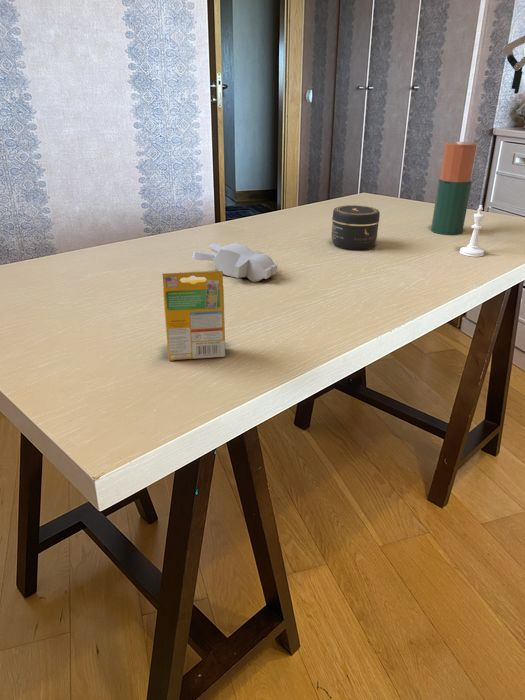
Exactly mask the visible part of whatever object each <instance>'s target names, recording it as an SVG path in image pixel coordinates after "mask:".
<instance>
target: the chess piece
mask: <svg viewBox="0 0 525 700" xmlns="http://www.w3.org/2000/svg"><path fill="white" fill-rule="evenodd" d="M483 210H484V207H483V205H482V204H479V206H478V208H477V210H476V211H477V213H474V214H473V221H474V224H472V225H471V228H472V229H473V231H472V234H471V237H470V240H469V243H468V244H466V246H462V247H460V249H459V251H458V253H459V254H460V255H462V256H466V257H475V258H477V257H484V255H485V250H484V249H483V248H481V247H479V246H480V245H479V244H478V243H479V231H480V229H483V226H482V225H481V223H482V221H483V219H484V218H485V215H484V214H483V213H482V211H483Z"/></svg>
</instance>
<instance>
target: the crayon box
mask: <svg viewBox="0 0 525 700" xmlns="http://www.w3.org/2000/svg"><path fill="white" fill-rule="evenodd" d="M161 275H162V283H163V284H162V293H163V307H164V322H165V332H166V334H165V335H166V345H167V359H168V361H169V362H173V361H179V360H192V359H193V360H196V359H209V358H210V359H212V358H226V335H225V334H226V333H225V332H226V329H225V327H226V326H225V325H226V323H225V292H224V289H225V288H224V274H223V271H218V270H212V271H211V270H209V271H187V272H186V271H185V272H164V273H162V274H161ZM190 277H195V278H205V279H190V280H189V279H188V280H187V278H190ZM184 278H185V279H186V280H181V279H184Z"/></svg>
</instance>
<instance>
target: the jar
mask: <svg viewBox="0 0 525 700" xmlns="http://www.w3.org/2000/svg"><path fill="white" fill-rule="evenodd" d="M380 214H381V212H380V210H379V209H377V208H375V207H372V206H366V205H355V204H354V205H353V204H352V205H340V206H337V207H334V208H333V211H332V216H331V217H332V218H331V220H332V224H331V240H332V243H333V246H335V247H337V248H338V249H342V250H348V251H366V250H369V249H372V248H373V247H374V246H375V244H376V242H377V239H378V233H379V231H378V230H379V223H380V217H381V215H380Z"/></svg>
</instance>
